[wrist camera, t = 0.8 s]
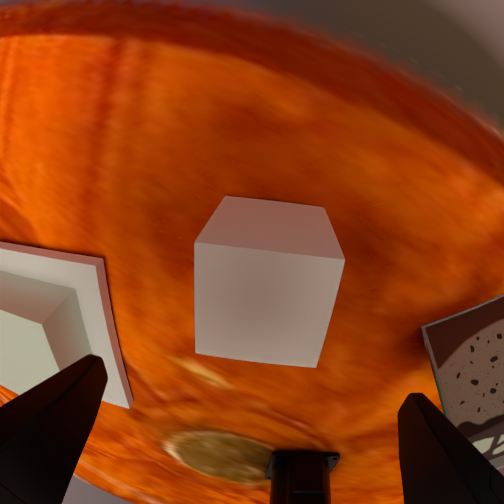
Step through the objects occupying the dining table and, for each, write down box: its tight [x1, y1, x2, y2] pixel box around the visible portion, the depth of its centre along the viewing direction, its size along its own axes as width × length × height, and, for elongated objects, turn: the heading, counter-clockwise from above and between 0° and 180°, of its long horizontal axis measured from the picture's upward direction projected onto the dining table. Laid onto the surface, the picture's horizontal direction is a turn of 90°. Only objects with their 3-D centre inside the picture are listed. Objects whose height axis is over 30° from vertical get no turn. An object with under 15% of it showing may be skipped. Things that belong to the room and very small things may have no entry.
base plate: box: [0, 242, 133, 409], centre depth 21 cm, size 14×14×1 cm
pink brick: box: [194, 196, 345, 368], centre depth 14 cm, size 5×5×6 cm
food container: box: [421, 294, 504, 469], centre depth 13 cm, size 12×6×10 cm, turn 110°
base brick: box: [0, 271, 92, 395], centre depth 18 cm, size 10×10×4 cm
